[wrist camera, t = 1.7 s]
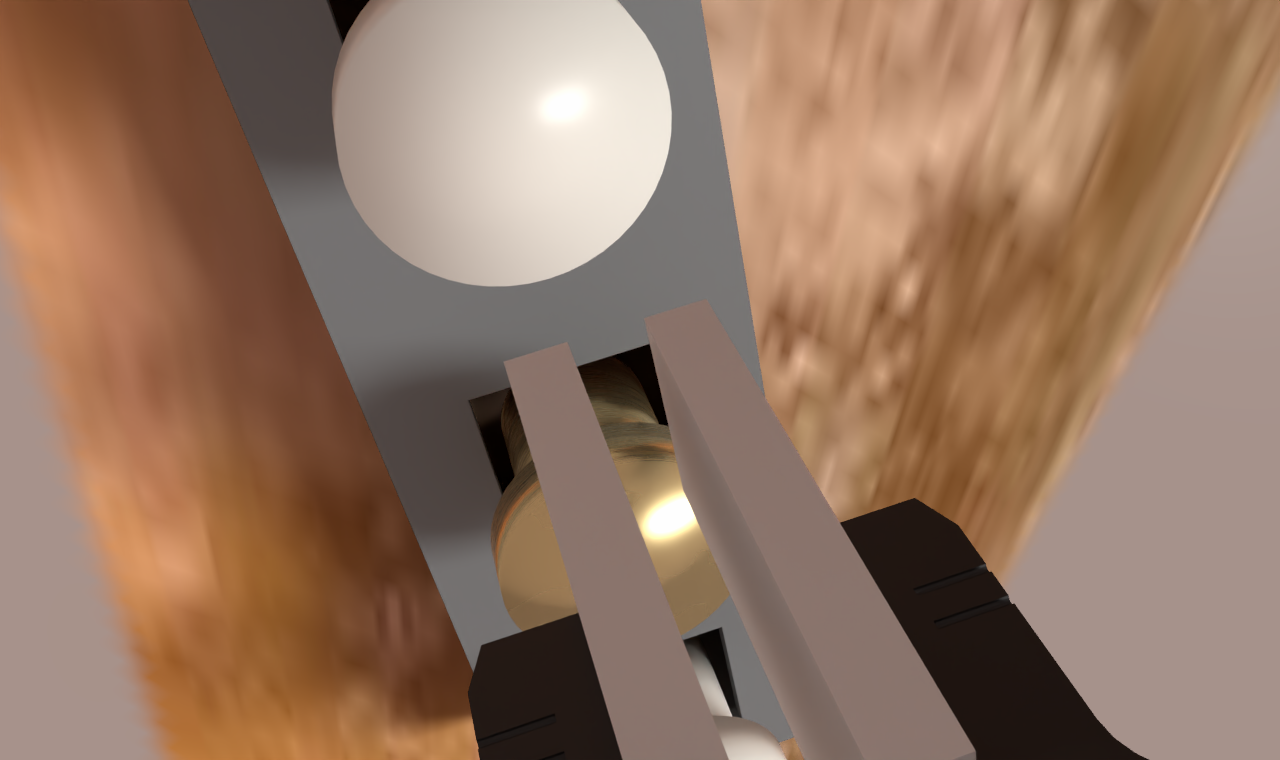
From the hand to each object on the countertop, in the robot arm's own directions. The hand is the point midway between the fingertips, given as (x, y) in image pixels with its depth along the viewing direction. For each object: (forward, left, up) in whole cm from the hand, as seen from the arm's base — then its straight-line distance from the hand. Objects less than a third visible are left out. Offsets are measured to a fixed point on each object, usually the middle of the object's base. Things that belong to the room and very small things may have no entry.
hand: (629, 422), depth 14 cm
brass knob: (0, +11, -15) cm, 19 cm away
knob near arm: (0, 0, -15) cm, 15 cm away
